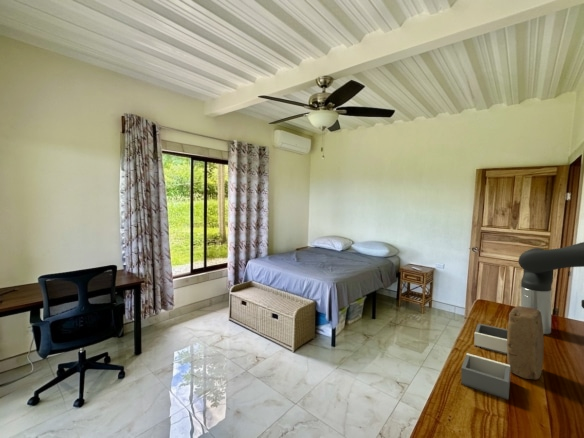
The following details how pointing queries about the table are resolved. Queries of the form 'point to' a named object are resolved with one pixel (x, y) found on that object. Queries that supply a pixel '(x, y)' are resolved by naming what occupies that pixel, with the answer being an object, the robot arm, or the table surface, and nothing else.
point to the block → (525, 342)
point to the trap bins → (487, 363)
